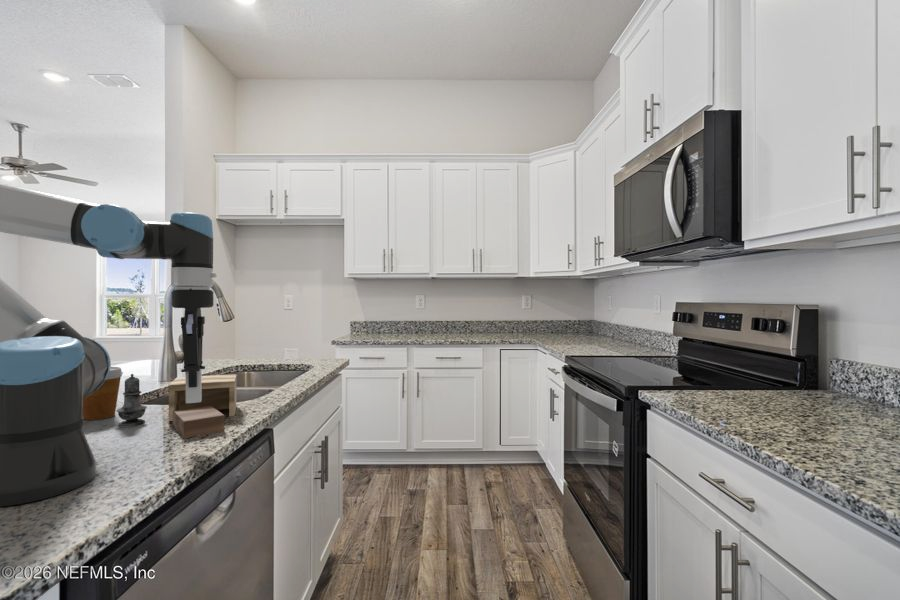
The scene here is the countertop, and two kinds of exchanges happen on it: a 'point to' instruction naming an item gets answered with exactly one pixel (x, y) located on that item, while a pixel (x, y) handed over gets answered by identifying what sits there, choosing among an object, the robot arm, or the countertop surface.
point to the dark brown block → (198, 421)
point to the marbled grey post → (131, 404)
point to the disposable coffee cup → (103, 397)
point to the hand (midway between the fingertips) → (193, 401)
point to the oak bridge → (205, 393)
